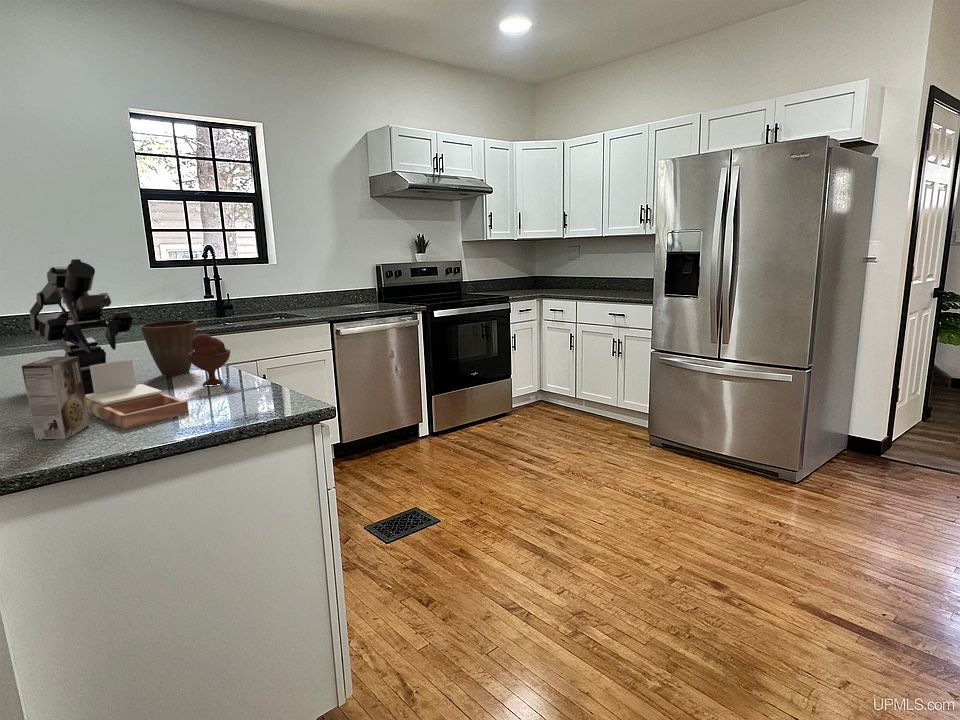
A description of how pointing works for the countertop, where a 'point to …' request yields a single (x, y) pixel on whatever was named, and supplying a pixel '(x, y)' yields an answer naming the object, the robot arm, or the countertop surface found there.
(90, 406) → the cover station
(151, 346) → the plant pot
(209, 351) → the ice cream bowl
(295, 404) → the countertop surface
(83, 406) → the coffee box
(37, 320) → the robot arm
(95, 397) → the white l-shaped piece
